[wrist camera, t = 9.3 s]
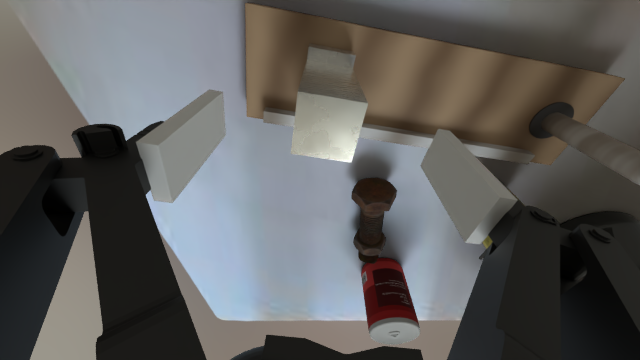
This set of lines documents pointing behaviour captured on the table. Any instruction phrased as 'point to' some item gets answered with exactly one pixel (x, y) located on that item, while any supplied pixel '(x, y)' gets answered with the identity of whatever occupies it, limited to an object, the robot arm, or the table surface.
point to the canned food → (388, 303)
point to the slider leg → (328, 106)
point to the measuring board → (437, 90)
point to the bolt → (372, 216)
